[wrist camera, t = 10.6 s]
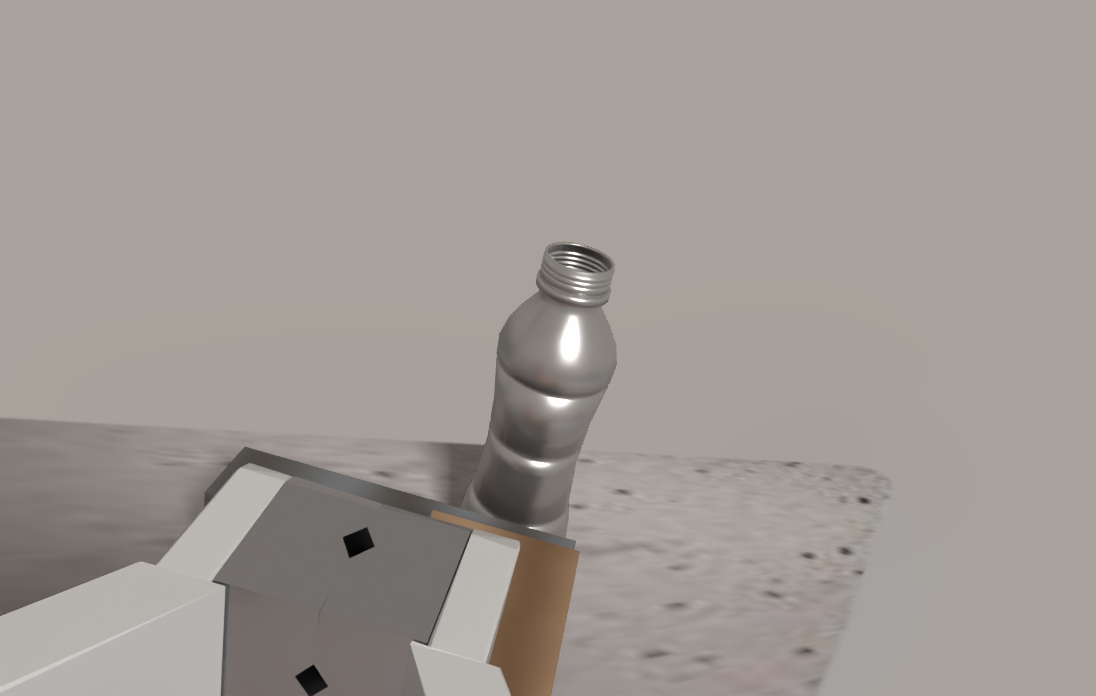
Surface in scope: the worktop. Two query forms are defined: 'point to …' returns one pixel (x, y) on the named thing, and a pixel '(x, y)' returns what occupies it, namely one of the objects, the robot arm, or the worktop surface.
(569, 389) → the silver metal bottle
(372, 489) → the charcoal board
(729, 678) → the worktop surface
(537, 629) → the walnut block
